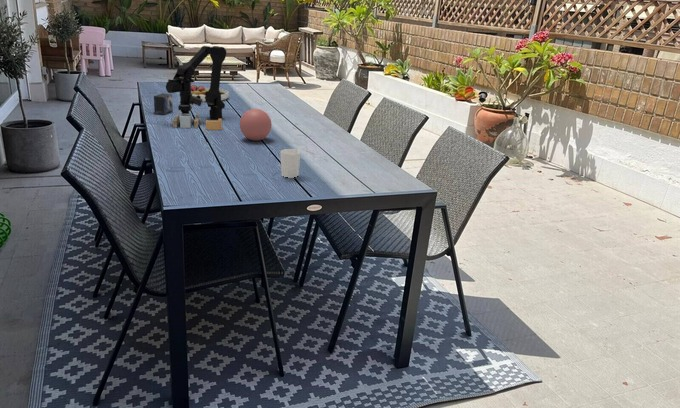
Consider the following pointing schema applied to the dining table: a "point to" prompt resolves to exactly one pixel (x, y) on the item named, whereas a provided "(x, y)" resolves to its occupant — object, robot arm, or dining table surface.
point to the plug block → (185, 120)
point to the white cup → (290, 162)
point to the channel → (176, 121)
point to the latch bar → (214, 125)
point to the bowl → (202, 91)
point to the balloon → (255, 124)
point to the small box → (163, 104)
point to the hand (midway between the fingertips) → (186, 120)
